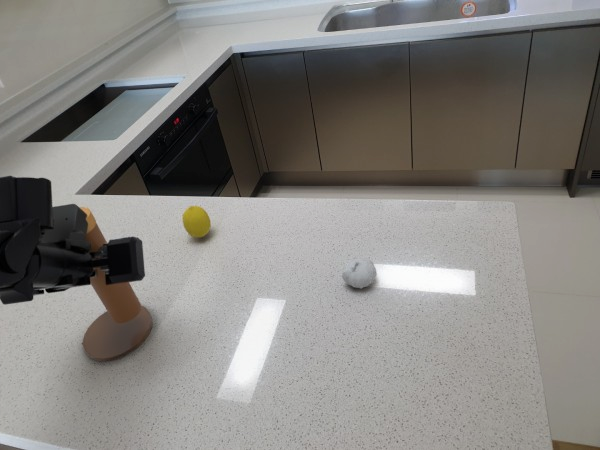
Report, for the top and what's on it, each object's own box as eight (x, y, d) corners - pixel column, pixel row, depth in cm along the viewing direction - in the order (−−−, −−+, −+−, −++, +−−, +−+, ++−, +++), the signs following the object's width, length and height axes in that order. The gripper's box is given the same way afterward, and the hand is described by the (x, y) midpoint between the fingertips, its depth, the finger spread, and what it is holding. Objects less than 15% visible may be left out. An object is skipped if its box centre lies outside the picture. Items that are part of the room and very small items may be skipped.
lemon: (212, 243, 97) (201, 212, 92) (187, 246, 97) (174, 216, 92) (216, 227, 101) (206, 197, 96) (192, 230, 102) (180, 200, 97)
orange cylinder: (139, 320, 76) (85, 224, 64) (108, 326, 76) (48, 231, 64) (144, 297, 80) (94, 203, 68) (115, 303, 80) (60, 211, 68)
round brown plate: (99, 374, 74) (97, 371, 74) (75, 335, 82) (72, 332, 82) (164, 329, 80) (162, 326, 79) (135, 296, 87) (133, 293, 87)
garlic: (354, 299, 78) (351, 277, 74) (338, 280, 82) (334, 258, 79) (384, 284, 79) (382, 262, 76) (367, 266, 83) (364, 245, 80)
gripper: (109, 191, 59) (159, 211, 74) (-25, 213, 60) (51, 228, 76) (116, 278, 57) (165, 280, 72) (-23, 298, 59) (54, 296, 74)
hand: (108, 269), depth 74 cm, fingers closed on orange cylinder, 5 cm apart
